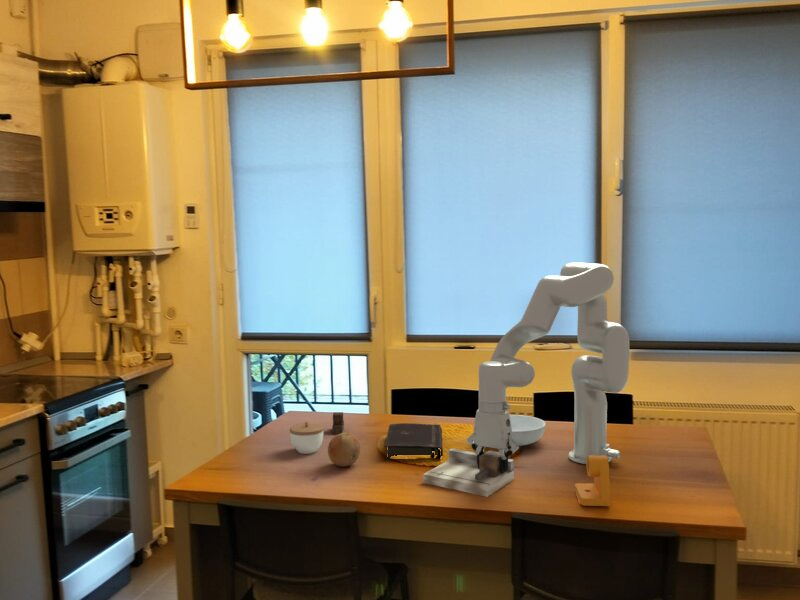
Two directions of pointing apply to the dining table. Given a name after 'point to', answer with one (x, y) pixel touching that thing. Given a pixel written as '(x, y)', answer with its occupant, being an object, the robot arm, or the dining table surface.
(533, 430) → the serving bowl
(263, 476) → the dining table surface
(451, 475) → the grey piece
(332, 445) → the onion
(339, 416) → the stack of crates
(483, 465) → the block
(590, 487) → the bracket
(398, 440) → the diary
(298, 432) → the lidded jar
